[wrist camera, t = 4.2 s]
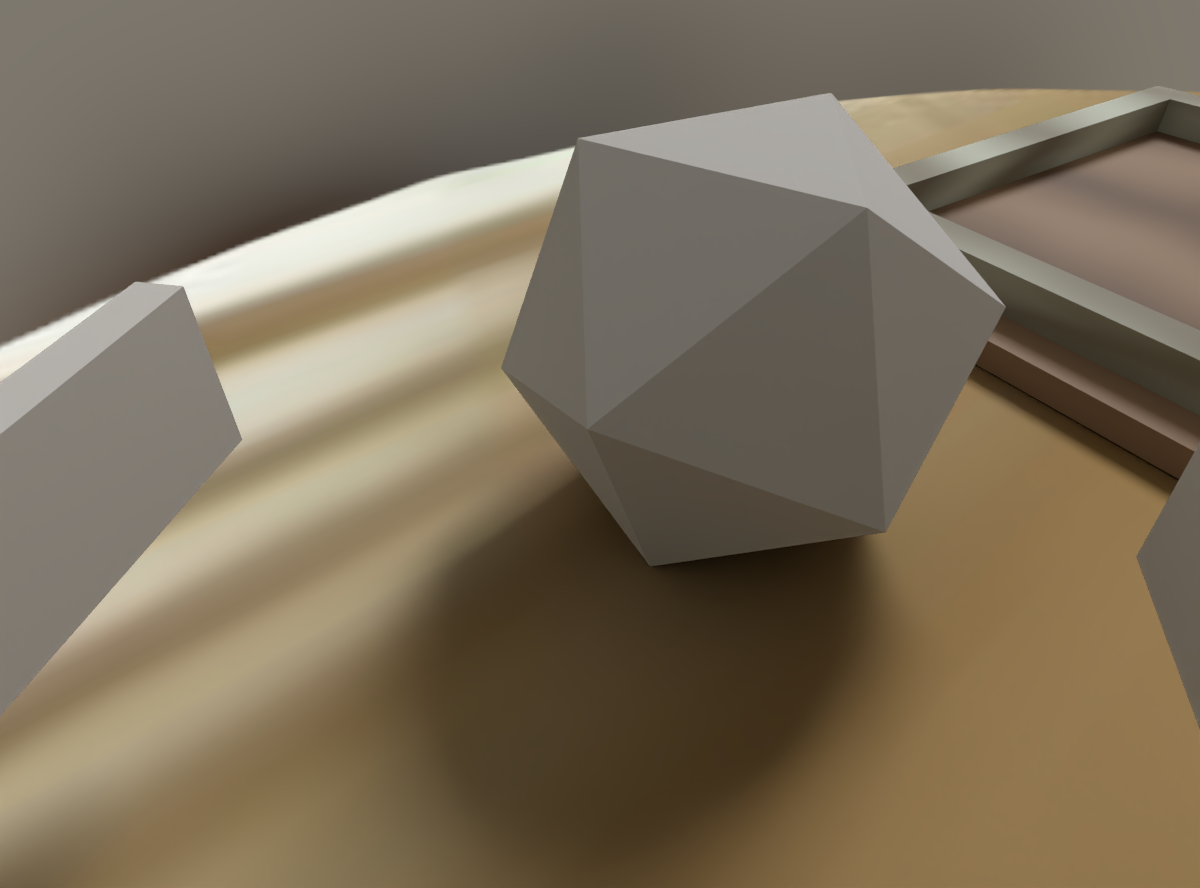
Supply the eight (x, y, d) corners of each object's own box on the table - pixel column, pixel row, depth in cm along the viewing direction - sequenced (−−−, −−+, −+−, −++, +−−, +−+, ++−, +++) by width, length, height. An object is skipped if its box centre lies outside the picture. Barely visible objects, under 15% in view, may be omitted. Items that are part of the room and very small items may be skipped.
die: (947, 702, 15) (1182, 178, 14) (507, 626, 11) (769, -103, 10) (721, 536, 22) (859, 185, 21) (410, 457, 19) (554, 24, 17)
